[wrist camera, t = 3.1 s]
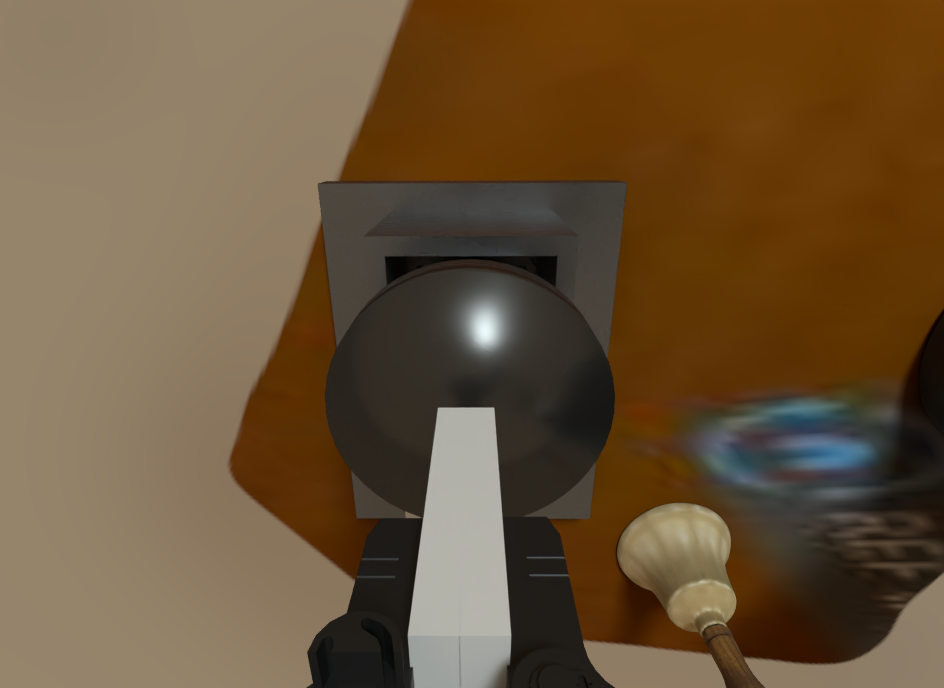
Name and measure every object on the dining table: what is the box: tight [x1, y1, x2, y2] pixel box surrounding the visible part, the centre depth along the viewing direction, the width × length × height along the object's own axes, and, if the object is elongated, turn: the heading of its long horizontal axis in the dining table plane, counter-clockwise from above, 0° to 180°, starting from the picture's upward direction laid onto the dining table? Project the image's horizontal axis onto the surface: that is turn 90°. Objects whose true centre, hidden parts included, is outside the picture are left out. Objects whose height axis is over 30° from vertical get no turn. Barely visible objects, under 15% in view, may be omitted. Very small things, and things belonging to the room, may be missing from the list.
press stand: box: [318, 181, 627, 519], centre depth 25 cm, size 16×22×14 cm
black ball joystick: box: [325, 259, 615, 518], centre depth 21 cm, size 9×17×9 cm, turn 0°
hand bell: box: [617, 503, 765, 688], centre depth 30 cm, size 8×8×16 cm
